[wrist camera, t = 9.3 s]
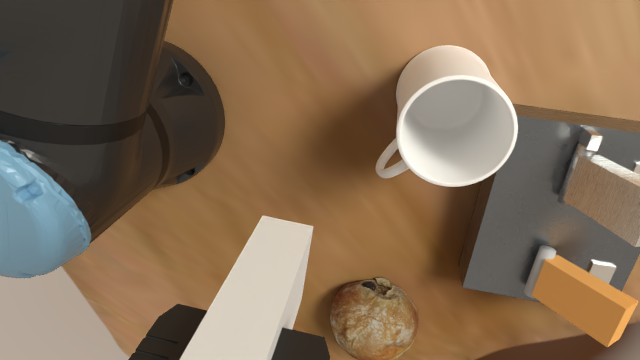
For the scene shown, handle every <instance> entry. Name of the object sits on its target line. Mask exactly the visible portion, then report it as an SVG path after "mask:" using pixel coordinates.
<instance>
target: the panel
mask: <svg viewBox="0 0 640 360" xmlns="http://www.w3.org/2000/svg"><path fill="white" fill-rule="evenodd" d="M512 105H513V107H514V109H515V112H516V116H517V122H518V133H517V139H516V143H515V146H514V148H513V150H512V152H511V154H510V156H509V158H508V159H507V160H506V162H505V163H504V164H503V165H502V166H501V167H500V168H499V169H498V170H497V171H496V172H495V173H493V174H492V175H490V176H489V177H487V178H485V179H484V180H482V183H481V186H480V190H479V193H478V197H477V200H476V204H475V208H474V211H473V215H472V218H471V222H470V225H469V229H468V232H467V236H466V239H465V243H464V247H463V250H462V254H461V257H460V261H459V270H460V276H461V282H462V287H463V288H468V289H473V290H479V291H484V292H489V293H495V294H500V295H506V296H511V297H516V298H522V299H527V300H532V301H538V302H540V301H539V300H537V299H536V298H531V297H529V296H527V295H526V294H525V293H524V288H525V286H526V283H527V280H528V278H529V275H530V272H531V269H532V267H533V264H534V261H535V259H536V256H537V253H538V250H539V248H540V246H542V245H545V246H549V247H552V248H553V249H555V250H556V255H559V256H561V257H563V258H564V259H566V260H568V261H569V262H571V263H573V264H575V265H576V266H578V267H580V268H582V269H583V270H585V271H587V272H588V273H590V274H592V275H594V276H595V277H597V278H599V279H601V280H602V281H604V282H606V283H608V284H609V285H611V286H613V287H614V288H616V289H618V290H620V291H622V289H623V287H624V285H625V283H626V281H627V279H628V277H629V275H630V273H631V271H632V269H633V267H634V264H635V262H636V260H637V258H638V256H639V254H640V121H633V120H625V119H618V118H611V117H604V116H597V115H589V114H582V113H575V112H568V111H561V110H553V109H546V108H539V107H532V106H525V105H517V104H512ZM556 255H555V256H556Z"/></svg>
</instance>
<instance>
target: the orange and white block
mask: <svg viewBox="0 0 640 360" xmlns="http://www.w3.org/2000/svg"><path fill="white" fill-rule="evenodd" d="M555 255H556V250H555V249H553V248H552V247H549V246H545V245H542V246H540V248H539V250H538V253H537V256H536V259H535V261H534V264H533V267H532V269H531V272H530V275H529V278H528V280H527V283H526V286H525V288H524V293H525V294H526V295H527V296H529V297H531V298H536V299H537V300H539V301H540V302H542V303H543V304H545V305H546V306H547V307H549V308H550V309H552V310H553V311H555V312H556V313H558V314H559V315H561V316H562V317H564V318H565V319H567V320H568V321H569V322H571V323H572V324H574V325H575V326H577V327H578V328H580V329H581V330H583V331H584V332H586V333H587V334H589V335H590V336H591V337H593V338H594V339H596V340H597V341H599V342H600V343H602V344H603V345H605V346H606V347H608V346H610V345H611V344H613V343H614V342H615V341H617V340H618V339H619V338H620V337H621V335H622V333H623V331H624V328H625V327H626V325H627V323H628V321H629V319H630V317H631V315H632V313H633V311H634V309H635V307H636V305H637V303H638V302H639V301H637V300H635V299H633V298H632V297H630V296H628V295H627V294H625V293H623V292H621V291H620V290H618V289H616V288H614V287H613V286H611V285H609V284H608V283H606V282H604V281H602V280H601V279H599V278H597V277H595V276H594V275H592V274H590V273H588V272H587V271H585V270H583V269H582V268H580V267H578V266H576V265H575V264H573V263H571V262H569V261H568V260H566V259H564V258H563V257H561V256H559V255H556V256H555Z"/></svg>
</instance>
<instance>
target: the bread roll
mask: <svg viewBox="0 0 640 360" xmlns="http://www.w3.org/2000/svg"><path fill="white" fill-rule="evenodd" d="M418 321H419V319H418V313H417V309H416V308H415V306H414V304H413V301H411V300H410V298H409V297H408V295H407V294H406V293H405V292H404V291H403V290H402V289H401V288H399V287H398V286H395V285H391V284H390V282H389V280H388V279H385V278H382V277H381V278H375V279H374V280H363V281H359V282H354V283H349V284H347V285H345V286H344V287H342V288H341V289H340V290H339V291H338V293H337V294H336V295H335V297H334V299H333V301H332V306H331V311H330V324H331V328H332V332H333V334H334V336H335V338H336V340H337V343H338V344H339V345H340V346H341V347H342V348H343V349H344V350H345V351H347V352H348V353H349V354H350V355H351V356H352V357H354V358H356V359H357V360H395V359H396V358H398V357H399V356H401V355H402V353H404V352H405V351H407V350H408V349H409V348H410V347H411V346H412V343H413V341H414V340H415V336H416V333H417V329H418Z"/></svg>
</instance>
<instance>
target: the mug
mask: <svg viewBox="0 0 640 360" xmlns="http://www.w3.org/2000/svg"><path fill="white" fill-rule="evenodd" d="M396 100H397V105H398V113H397V127H396V138H395V139H394V140H393V141H392V142H391V143H390V144H389V146H388V147H387V148H386V149H385V150H384V152H383V153H382V154H381V156H380V158H379V159H378V161H377V163H376V167H375V170H376V173H377V174H378V175H379V176H380V177H382V178H391V177H394V176H396V175H398V174H400V173H402V172H404V171H406V170H407V169H409V168H410V169H411V170H412V171H413V172H414V173H415V174H416V175H418V176H419V177H421V178H422V179H424V180H426V181H428V182H431V183H433V184H437V185H441V186H448V187H458V186H466V185H470V184H474V183H477V182H479V181H481V180H484V179H485V178H487V177H489V176H490V175H492V174H493V173H495V172H496V171H497V170H498V169H499V168H500V167H501V166H502V165H503V164H504V163H505V162H506V160H507V159H508V158H509V156H510V154H511V152H512V150H513V148H514V146H515V143H516V139H517V133H518V122H517V116H516V112H515V109H514V107H513V105H512V103H511V101H510V100H509V98H508V97H507V95H506V94H505V93H504V92H503V90H502V89H501V88H500V87H499V85H498V84H497V83H496V82H495V81H494V79H493V78H492V77H491V75H490V72H489V70H488V68H487V66H486V65H485V63H484V62H483V61H482V60H481V59H480V58H479V57H478V56H477V55H476V54H474V53H473V52H471V51H469V50H467V49H465V48H462V47H458V46H452V45H443V46H437V47H433V48H430V49H427V50H425V51H423V52H421V53H420V54H418V55H417V56H415V57H414V58H413V59H412V60H411V61H410V62H409V63H408V64H407V65H406V67H405V68H404V70H403V71H402V73H401V75H400V78H399V80H398V84H397V89H396ZM397 149H399V152H400V154H401V157H402V158H403V159H402V160H401V161H399V162H398V163H396V164H394V165H393V166H391V167H389V168H386V169H384V167H385V165H386V163H387V161H388V160H389V159H390V157H391V156H392V155H393V153H394V152H395V151H396V150H397Z"/></svg>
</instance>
